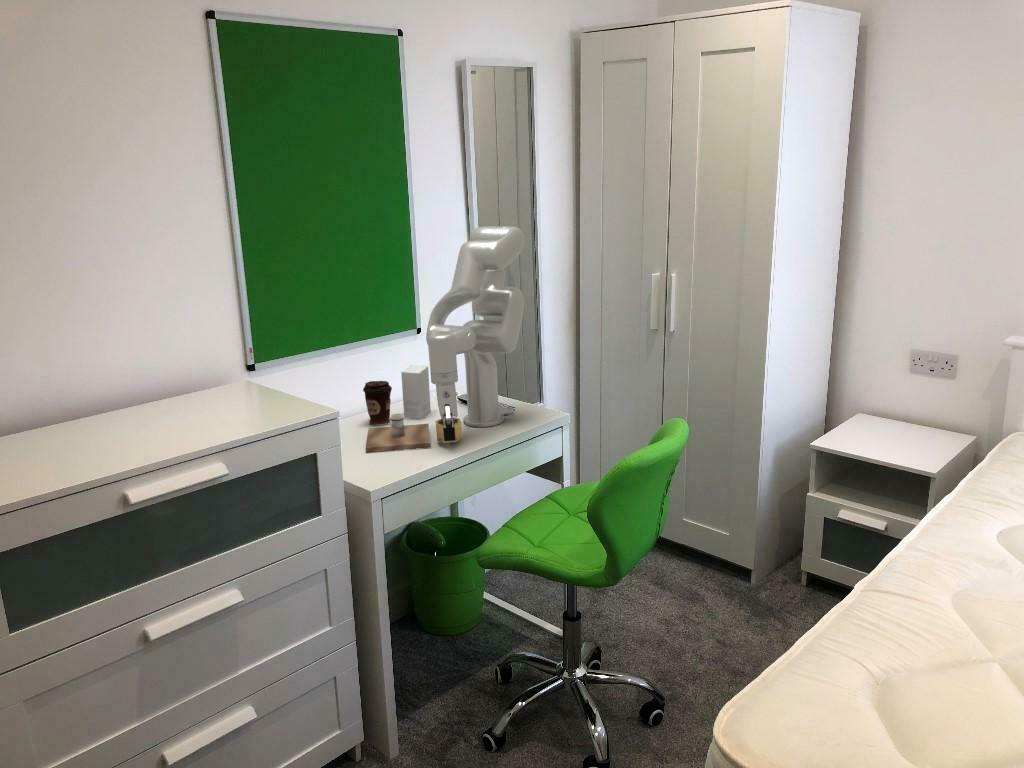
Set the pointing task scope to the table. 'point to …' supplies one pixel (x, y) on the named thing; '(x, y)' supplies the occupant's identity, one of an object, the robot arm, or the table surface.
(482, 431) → the table surface
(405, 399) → the skincare box
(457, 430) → the brass ring
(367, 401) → the coffee cup
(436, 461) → the table surface
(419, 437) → the post board
